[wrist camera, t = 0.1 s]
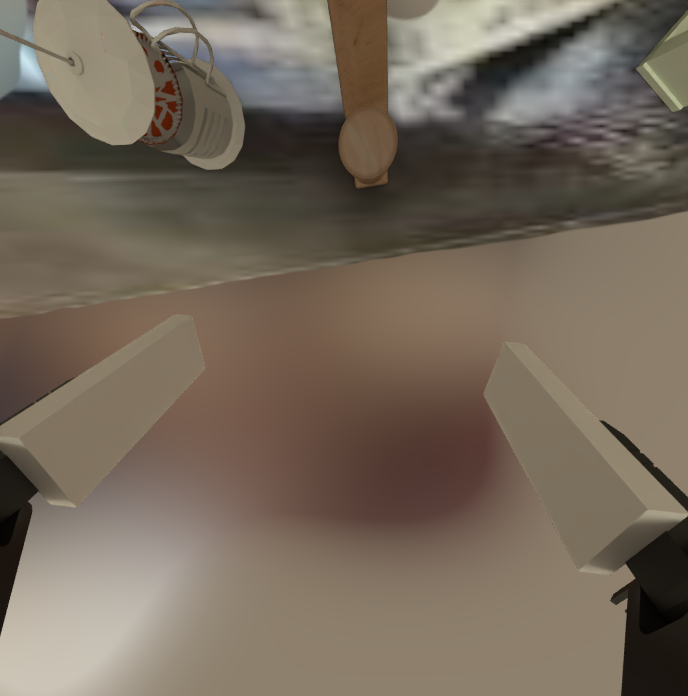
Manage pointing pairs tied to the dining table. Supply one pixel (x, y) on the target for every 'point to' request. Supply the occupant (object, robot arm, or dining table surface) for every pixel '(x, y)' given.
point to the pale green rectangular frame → (669, 66)
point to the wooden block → (363, 89)
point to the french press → (135, 82)
